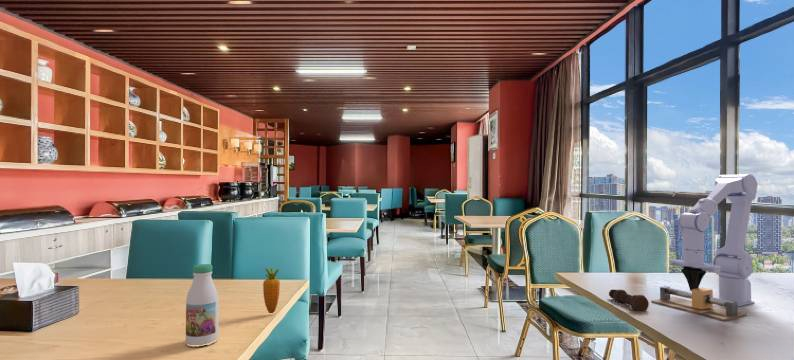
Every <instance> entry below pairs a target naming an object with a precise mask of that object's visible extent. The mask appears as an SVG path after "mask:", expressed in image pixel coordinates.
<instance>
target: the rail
mask: <svg viewBox="0 0 794 360" xmlns="http://www.w3.org/2000/svg"><path fill="white" fill-rule="evenodd" d="M671 295H672V296H675V297H680V298H681V297H682V298H685V299H688V300H689V299H690V300H692V292H691V291H690V292H689V291H686V290H685V291H684V290H681V289H676V288H671V287H670V286H667V285H666V286H665V285H664V286H660V287H659V296H660V297H659V299H662V300H669V299H670V297H671ZM718 298H719V297H710V296H705V302H707V303H709V304H713V305H714V306H716V305H717V306H719V307H723V308H725V309H726V315H727V316H731V317H734V316H738V312H739V310H738V309H739V306H738V302H737V301H732V300H731V301H727V300H722V299H718Z"/></svg>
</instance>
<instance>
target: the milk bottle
mask: <svg viewBox="0 0 794 360" xmlns="http://www.w3.org/2000/svg"><path fill="white" fill-rule="evenodd" d="M212 274H213V265H212V264H209V263H205V264H204V263H203V264H196V265H193V267H192V275H193V280H192V283H191V285H190V288H189V290H188V291H187V295H186V301H185V303H186V304H185V344H186V343H187V344H189V345H203V344H207V343H210V342H212V341H214V340H216V339H217V338H218V337H219V325H220V323H219V322H220V321H219V319H220V316H219V309H220V307H219V304H220V303H219V302H220V301H219V293H218V289H217V288H216V285H215V283H214V281H213V277H212ZM218 339H219V338H218ZM187 344H186V345H187Z"/></svg>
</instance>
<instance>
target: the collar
mask: <svg viewBox="0 0 794 360" xmlns="http://www.w3.org/2000/svg"><path fill="white" fill-rule="evenodd" d="M691 293H692V299H691V301H692V307H694V308H698V309H702V310H703V309H707V308H712V307H713V306H714V304H709V303H707V302H705V296H710V297H713V296H714V295H713V294H714V293H713V288H712V289H711V288H707V287H699V288H697V289H692V291H691ZM713 298H714V297H713Z"/></svg>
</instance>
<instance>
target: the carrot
mask: <svg viewBox="0 0 794 360" xmlns="http://www.w3.org/2000/svg"><path fill="white" fill-rule="evenodd" d="M279 270H280V269H279V268H276V269H275V271H274V269H273V268H269V267H268V266H267V267H266V268H265V271H266V272H267V273H265V276H266V277H267V279H265V280H264V281H263V283H262V287H263V288H262V289H263V299H264V304H265V307H266V310H267V312H268V313H273V312H274V313H275V312H276V309H277V307H278V303H279V298H280V286H281V285H280V281H281V280H280V279H278V278H276V276H277V274H278V272H279ZM274 313H273V314H274Z"/></svg>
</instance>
